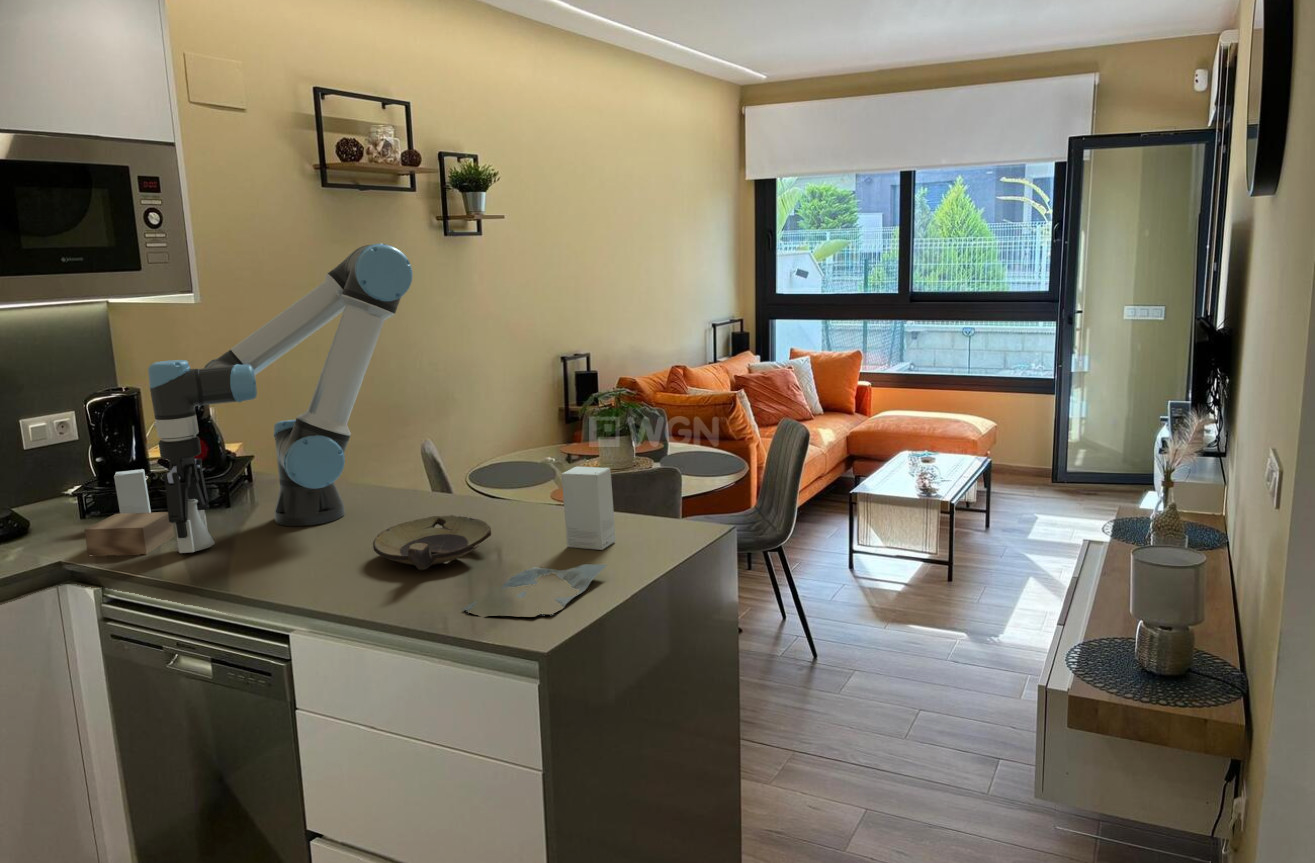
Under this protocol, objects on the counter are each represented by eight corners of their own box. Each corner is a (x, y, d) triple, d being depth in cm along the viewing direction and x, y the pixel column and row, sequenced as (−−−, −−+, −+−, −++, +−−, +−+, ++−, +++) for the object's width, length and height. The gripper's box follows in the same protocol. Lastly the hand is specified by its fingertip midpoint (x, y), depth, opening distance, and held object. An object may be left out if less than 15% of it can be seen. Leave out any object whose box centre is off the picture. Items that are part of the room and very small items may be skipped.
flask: (221, 543, 206) (215, 497, 204) (195, 554, 199) (188, 506, 197) (194, 541, 208) (188, 495, 206) (167, 552, 202) (160, 504, 200)
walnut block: (174, 538, 214) (171, 511, 213) (146, 555, 202) (142, 527, 201) (119, 540, 214) (115, 513, 213) (88, 557, 202) (84, 529, 201)
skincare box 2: (616, 542, 200) (613, 467, 197) (601, 551, 194) (597, 474, 192) (580, 538, 204) (576, 464, 201) (564, 547, 198) (560, 471, 195)
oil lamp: (512, 542, 203) (510, 506, 201) (436, 592, 175) (432, 550, 173) (417, 536, 210) (415, 501, 208) (329, 582, 182) (325, 542, 180)
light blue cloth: (543, 634, 158) (541, 621, 157) (459, 624, 164) (457, 612, 164) (609, 576, 180) (607, 564, 179) (533, 569, 186) (531, 558, 185)
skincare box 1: (152, 518, 230) (145, 467, 228) (151, 523, 226) (144, 471, 224) (122, 522, 228) (115, 471, 225) (120, 527, 224) (113, 475, 221)
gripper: (179, 429, 209) (194, 533, 213) (137, 448, 189) (155, 563, 194) (215, 426, 209) (230, 530, 214) (177, 446, 190) (194, 560, 194)
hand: (194, 545), depth 204 cm, fingers closed on flask, 7 cm apart
